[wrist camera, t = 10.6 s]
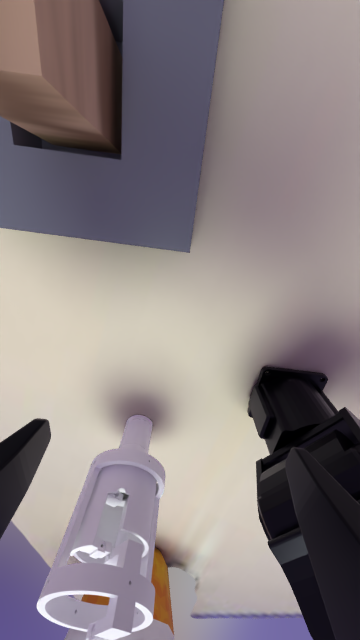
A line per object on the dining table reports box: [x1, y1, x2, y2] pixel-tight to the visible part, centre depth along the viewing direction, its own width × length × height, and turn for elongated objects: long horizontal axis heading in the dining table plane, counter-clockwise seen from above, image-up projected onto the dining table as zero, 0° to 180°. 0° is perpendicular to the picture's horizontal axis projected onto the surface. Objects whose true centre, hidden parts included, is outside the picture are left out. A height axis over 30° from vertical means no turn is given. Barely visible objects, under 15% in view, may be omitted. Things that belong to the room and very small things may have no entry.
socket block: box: [0, 0, 224, 253], centre depth 13 cm, size 15×15×4 cm
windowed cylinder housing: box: [37, 415, 165, 640], centre depth 19 cm, size 7×7×15 cm
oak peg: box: [0, 0, 123, 154], centre depth 10 cm, size 4×4×9 cm
